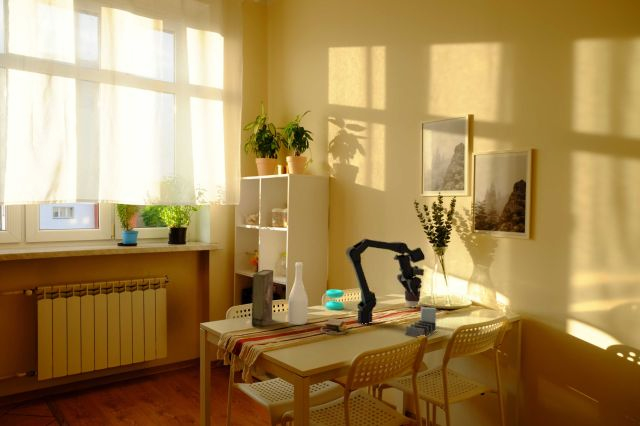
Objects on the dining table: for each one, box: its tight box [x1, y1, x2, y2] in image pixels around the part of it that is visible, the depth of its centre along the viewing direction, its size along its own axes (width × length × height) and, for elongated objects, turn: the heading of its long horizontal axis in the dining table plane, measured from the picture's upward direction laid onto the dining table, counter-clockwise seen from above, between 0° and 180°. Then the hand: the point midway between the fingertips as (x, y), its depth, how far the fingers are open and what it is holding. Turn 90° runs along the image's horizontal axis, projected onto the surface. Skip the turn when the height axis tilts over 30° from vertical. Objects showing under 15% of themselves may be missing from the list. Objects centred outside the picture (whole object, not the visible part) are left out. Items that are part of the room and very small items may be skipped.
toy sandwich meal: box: [319, 318, 348, 336], centre depth 239 cm, size 12×14×5 cm
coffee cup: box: [404, 283, 422, 306], centre depth 297 cm, size 10×10×15 cm
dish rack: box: [404, 319, 437, 338], centre depth 240 cm, size 9×16×4 cm, turn 147°
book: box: [251, 269, 274, 327], centre depth 250 cm, size 16×6×25 cm, turn 168°
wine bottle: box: [287, 261, 309, 326], centre depth 252 cm, size 10×10×30 cm
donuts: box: [325, 289, 345, 311], centre depth 288 cm, size 10×10×10 cm
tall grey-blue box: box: [420, 306, 437, 324], centre depth 254 cm, size 7×3×9 cm, turn 85°
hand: (413, 294), depth 261 cm, fingers open, 9 cm apart
